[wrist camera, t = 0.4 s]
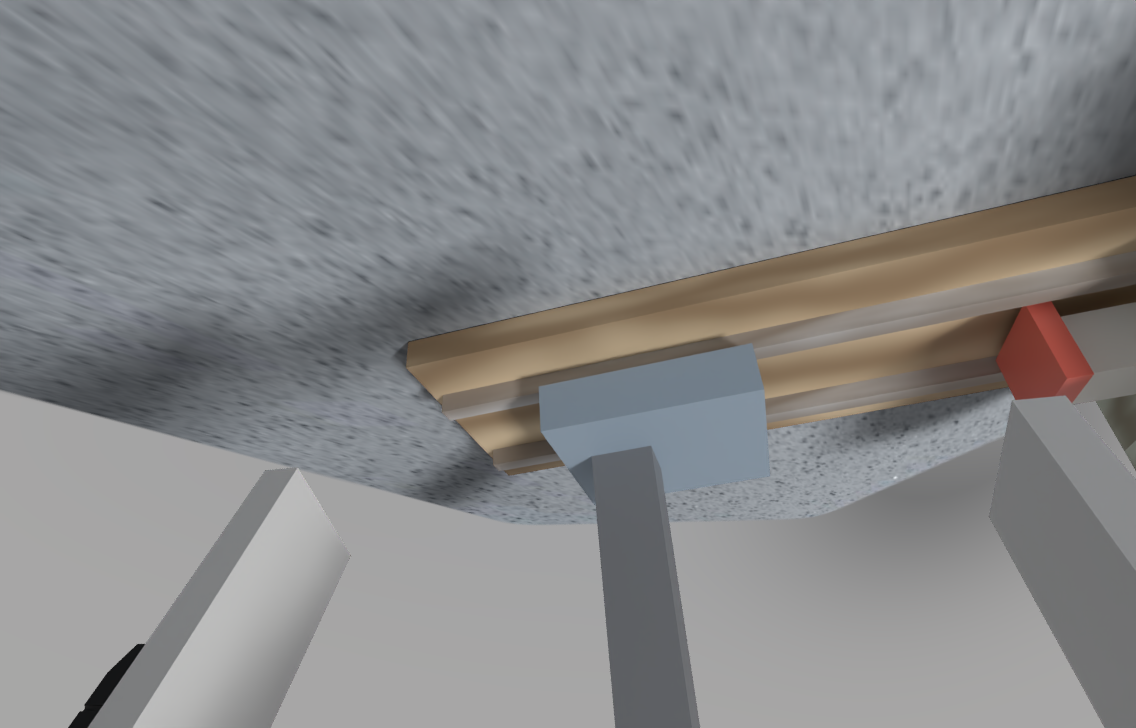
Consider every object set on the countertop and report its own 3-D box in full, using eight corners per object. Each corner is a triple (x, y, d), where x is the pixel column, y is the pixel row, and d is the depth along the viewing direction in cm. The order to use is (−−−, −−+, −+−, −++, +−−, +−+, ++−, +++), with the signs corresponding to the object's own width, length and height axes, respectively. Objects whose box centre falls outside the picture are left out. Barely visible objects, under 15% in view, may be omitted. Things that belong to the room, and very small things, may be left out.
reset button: (1024, 302, 29) (1067, 378, 27) (1205, 266, 28) (1266, 343, 25) (995, 360, 33) (1030, 430, 31) (1152, 331, 32) (1201, 402, 30)
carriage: (538, 386, 31) (556, 800, 22) (752, 342, 29) (866, 779, 20) (591, 466, 39) (619, 792, 30) (760, 436, 37) (844, 776, 28)
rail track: (408, 342, 32) (382, 632, 25) (1328, 131, 24) (1687, 461, 17) (508, 454, 43) (511, 676, 36) (1157, 335, 36) (1328, 585, 28)
